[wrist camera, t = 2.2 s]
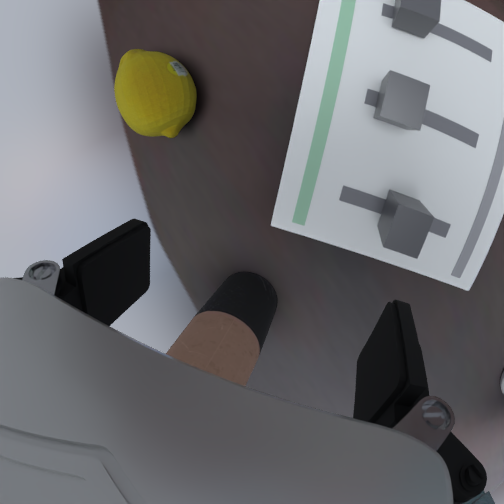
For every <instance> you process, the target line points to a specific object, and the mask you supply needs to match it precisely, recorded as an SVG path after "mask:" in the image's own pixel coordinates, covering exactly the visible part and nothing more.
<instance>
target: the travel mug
mask: <svg viewBox="0 0 504 504" xmlns="http://www.w3.org/2000/svg"><path fill="white" fill-rule="evenodd" d="M276 307H277V296H276V293H275V290H274V289H273V287H272V286H271V284H270V283H269V282H268V281H267V280H265V279H264V278H263V277H261V276H259V275H257V274H254V273H249V272H240V273H236V274H234V275H232V276H230V277H229V278H228V279H227V280H226V281H225V282H224V283H223V284H222V285H221V286H220V287H219V289H218V290H217V291H216V292H215V293H214V294H213V296H212V297H211V298H210V299H209V300H208V301H207V302H206V304H205V305H204V306H203V307H202V308H201V309H200V311H199V312H198V313H197V314H196V315H195V317H194V318H193V319H192V320H191V322H190V323H189V324H188V326H187V327H186V328H185V329H184V331H183V332H182V333H181V335H180V336H179V337H178V339H177V340H176V341H175V343H174V344H173V345H172V346H171V348H170V349H169V350H168V352H167V353H166V354H167V355H169V356H171V357H173V358H176V359H178V360H180V361H183V362H185V363H187V364H190V365H192V366H194V367H197V368H199V369H202V370H204V371H207V372H209V373H212V374H214V375H217V376H219V377H222V378H225V379H227V380H230V381H233V382H235V383H238V384H241V385H244V386H246V383H247V381H248V379H249V377H250V375H251V372H252V370H253V368H254V366H255V364H256V361H257V359H258V357H259V354H260V352H261V349H262V346H263V344H264V341H265V338H266V336H267V333H268V330H269V328H270V325H271V322H272V319H273V317H274V314H275V311H276Z"/></svg>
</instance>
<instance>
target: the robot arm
mask: <svg viewBox="0 0 504 504" xmlns="http://www.w3.org/2000/svg"><path fill="white" fill-rule="evenodd" d="M62 260H63V268H62V269H60V266H59V265H58V264H57V263H56V262H54V261H48V260H45V261H39V262H36V263H34V264H32V265H30V266H29V267H28V268H27V270H26V271H25V273H24V276H23V277H22V278H0V504H495V502H494V500H493V498H492V496H491V494H490V492H489V491H488V492H486V493H485V492H484V488H485V486H486V481H487V476H486V471H485V469H484V467H483V465H482V464H481V463H480V462H479V461H478V460H477V458H476V457H475V456H474V455H473V454H472V453H471V452H470V451H469V450H468V449H467V448H466V447H465V446H464V445H463V444H462V443H461V442H460V441H459V440H458V439H457V438H456V437H455V435H454V434H453V433H452V432H451V430H452V429H453V426H454V424H455V417H454V413H453V411H452V409H451V407H450V406H449V405H448V404H447V403H446V402H445V401H444V400H442V399H441V398H438V397H435V396H429V390H428V384H427V378H426V372H425V367H424V361H423V356H422V351H421V347H420V344H419V342H418V337H417V333H416V328H415V324H414V320H413V316H412V312H411V308H410V305H409V304H408V303H405V302H401V301H398V300H394V301H393V302H392V303H391V302H388V303H387V305H386V307H385V309H384V311H383V313H382V315H381V317H380V319H379V321H378V322H377V324H376V326H375V328H374V330H373V332H372V334H371V336H370V337H369V339H368V341H367V343H366V345H365V346H364V348H363V350H362V352H361V353H360V355H359V358H358V361H357V374H356V391H355V404H354V415H353V418H350V417H346V416H343V415H339V414H335V413H331V412H327V411H323V410H320V409H316V408H313V407H309V406H306V405H302V404H299V403H295V402H292V401H289V400H285V399H282V398H279V397H276V396H273V395H270V394H267V393H264V392H261V391H258V390H255V389H252V388H249V387H246V386H244V385H241V384H238V383H235V382H233V381H230V380H227V379H225V378H222V377H219V376H217V375H214V374H212V373H209V372H207V371H204V370H202V369H199V368H197V367H194V366H192V365H190V364H187V363H185V362H183V361H180V360H178V359H176V358H173V357H171V356H169V355H167V354H165V353H162V352H160V351H158V350H156V349H154V348H152V347H149V346H147V345H145V344H143V343H141V342H139V341H137V340H135V339H133V338H131V337H129V336H127V335H125V334H123V333H121V332H119V331H117V330H115V329H113V328H111V327H109V326H110V325H111V324H112V323H113V322H114V321H115V320H116V319H117V318H118V317H119V316H120V315H122V314H123V313H124V312H125V311H126V310H127V309H128V308H129V307H130V306H131V305H132V304H133V303H134V302H136V301H137V300H138V299H139V298H140V297H141V296H142V295H143V294H144V293H145V292H146V291H147V290H148V288H149V285H150V228H149V227H148V225H147V223H146V222H143V221H140V220H137V219H132V220H130V221H128V222H126V223H124V224H122V225H121V226H119V227H117V228H115V229H113V230H112V231H110V232H108V233H106V234H104V235H103V236H101V237H99V238H97V239H96V240H94V241H92V242H90V243H89V244H87V245H85V246H84V247H82V248H80V249H79V250H77V251H75V252H73V253H72V254H70V255H69V256H67V257H65V258H64V259H62ZM500 387H501V390H502V393H503V394H504V371H503V373H502V376H501V379H500Z"/></svg>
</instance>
